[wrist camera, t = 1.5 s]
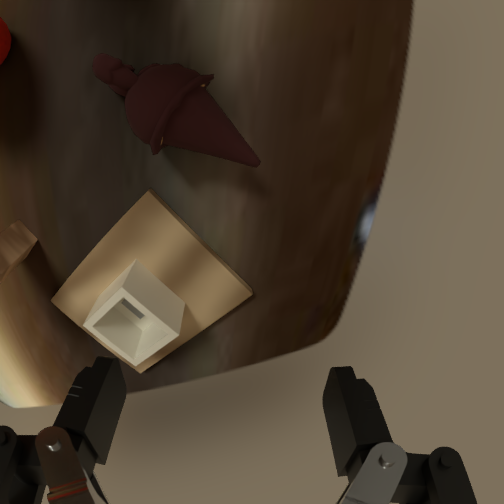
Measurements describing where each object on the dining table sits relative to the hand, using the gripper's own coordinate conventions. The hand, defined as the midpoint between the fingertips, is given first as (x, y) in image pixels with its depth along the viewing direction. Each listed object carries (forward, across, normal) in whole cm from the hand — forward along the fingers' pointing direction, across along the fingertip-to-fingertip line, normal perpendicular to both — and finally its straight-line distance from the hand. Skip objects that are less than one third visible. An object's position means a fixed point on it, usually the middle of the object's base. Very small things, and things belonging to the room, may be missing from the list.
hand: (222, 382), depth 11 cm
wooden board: (+19, +10, +9) cm, 23 cm away
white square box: (+18, +9, +9) cm, 22 cm away
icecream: (+19, +5, -10) cm, 22 cm away
